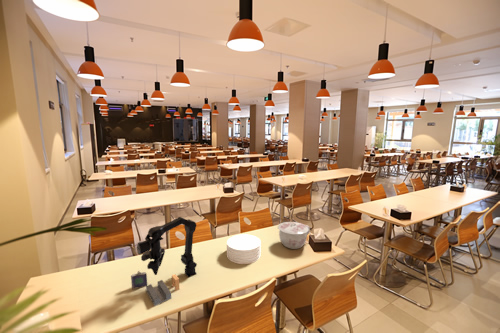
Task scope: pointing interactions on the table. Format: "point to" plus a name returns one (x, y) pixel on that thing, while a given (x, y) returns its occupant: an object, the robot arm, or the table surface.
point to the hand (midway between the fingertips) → (157, 270)
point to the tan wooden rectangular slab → (175, 282)
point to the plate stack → (243, 249)
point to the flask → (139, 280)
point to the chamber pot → (293, 234)
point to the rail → (158, 293)
